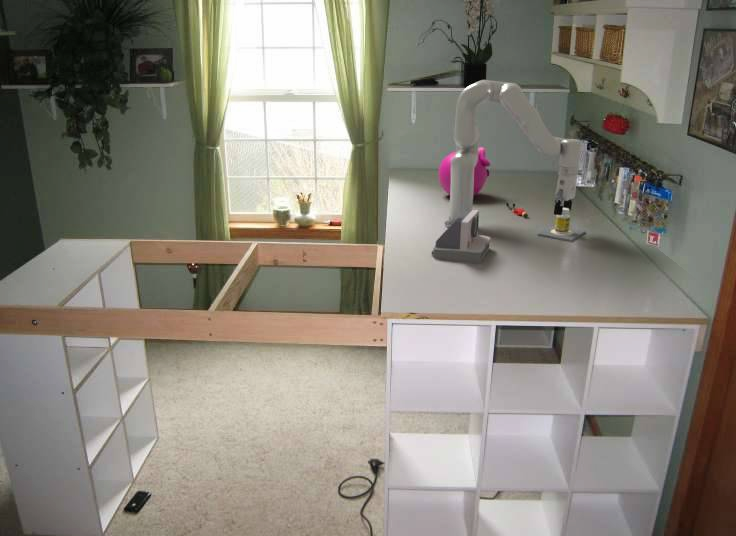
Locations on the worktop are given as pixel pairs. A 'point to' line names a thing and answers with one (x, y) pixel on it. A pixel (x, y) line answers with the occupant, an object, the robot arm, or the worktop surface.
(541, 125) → the robot arm
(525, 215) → the person figure
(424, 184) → the worktop surface
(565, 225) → the supplement bottle
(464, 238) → the grey angle bracket
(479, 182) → the figurine
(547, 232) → the card
